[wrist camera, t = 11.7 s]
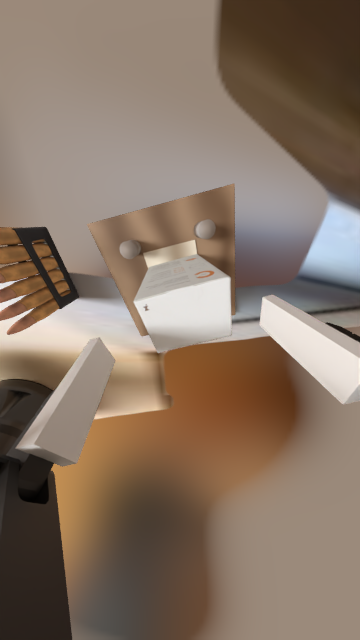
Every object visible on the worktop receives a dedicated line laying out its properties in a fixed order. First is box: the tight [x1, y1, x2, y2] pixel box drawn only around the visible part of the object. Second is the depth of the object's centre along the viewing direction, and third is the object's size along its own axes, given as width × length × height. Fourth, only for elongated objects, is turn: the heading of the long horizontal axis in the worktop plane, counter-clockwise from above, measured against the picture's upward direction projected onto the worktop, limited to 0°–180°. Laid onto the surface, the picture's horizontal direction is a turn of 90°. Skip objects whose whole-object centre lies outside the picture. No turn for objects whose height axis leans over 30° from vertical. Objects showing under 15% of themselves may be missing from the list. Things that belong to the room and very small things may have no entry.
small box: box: [133, 254, 232, 353], centre depth 18 cm, size 8×6×13 cm
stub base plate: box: [87, 184, 235, 336], centre depth 23 cm, size 20×20×6 cm
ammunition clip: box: [0, 227, 79, 335], centre depth 17 cm, size 11×2×12 cm, turn 3°
